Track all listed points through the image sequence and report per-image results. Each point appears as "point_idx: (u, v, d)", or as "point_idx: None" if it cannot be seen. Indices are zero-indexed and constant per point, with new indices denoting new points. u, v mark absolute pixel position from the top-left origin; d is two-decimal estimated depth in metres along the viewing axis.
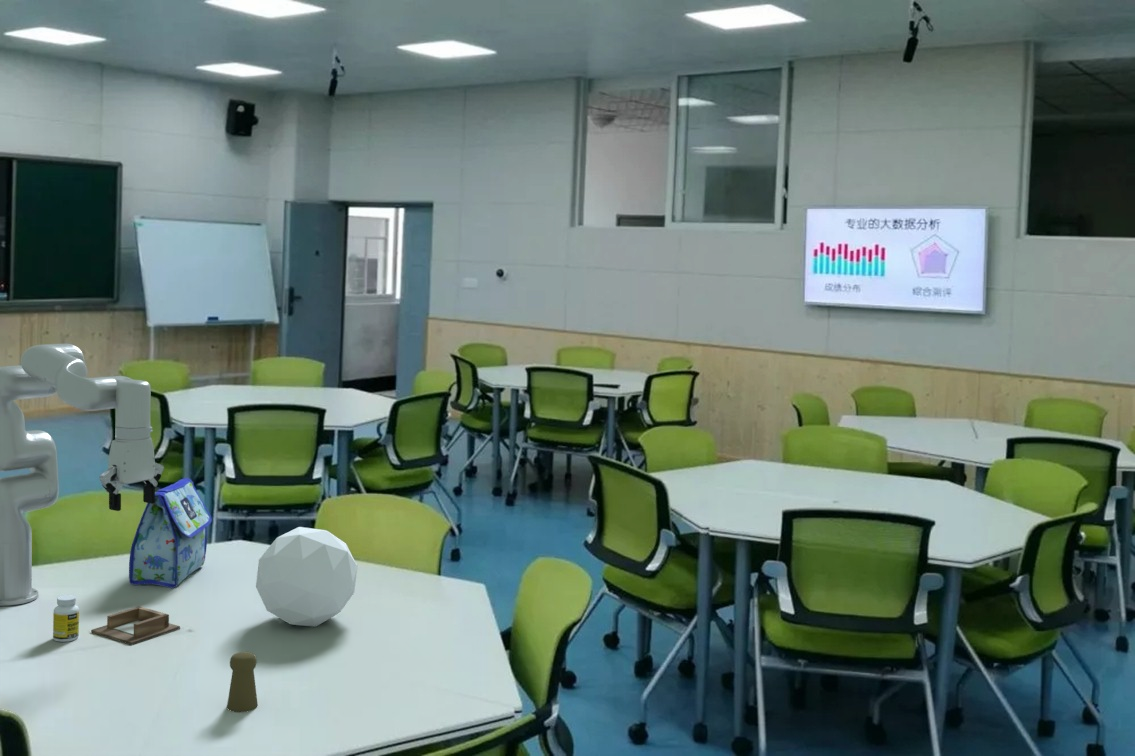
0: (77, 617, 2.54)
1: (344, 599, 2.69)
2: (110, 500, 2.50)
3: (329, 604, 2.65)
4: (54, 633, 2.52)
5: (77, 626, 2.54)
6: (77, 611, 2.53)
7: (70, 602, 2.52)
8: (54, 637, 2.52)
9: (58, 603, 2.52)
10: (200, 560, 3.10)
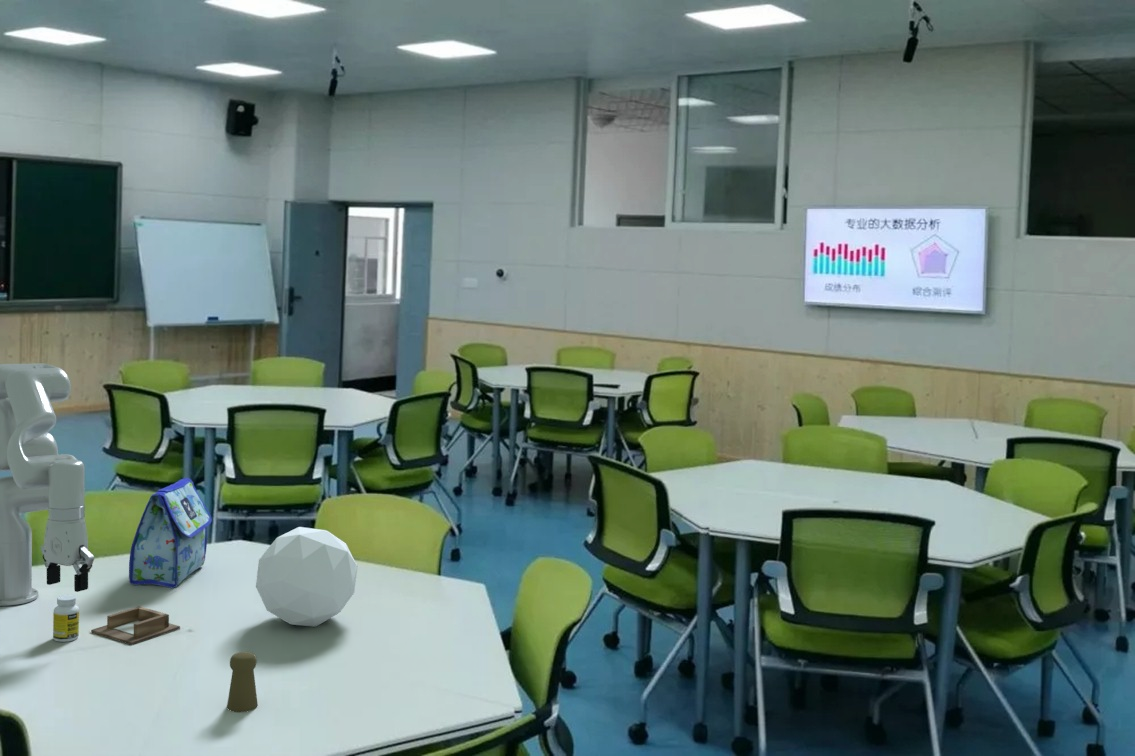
0: (77, 617, 2.54)
1: (344, 599, 2.69)
2: (82, 581, 2.49)
3: (329, 604, 2.65)
4: (54, 633, 2.52)
5: (77, 626, 2.54)
6: (77, 611, 2.53)
7: (70, 602, 2.52)
8: (54, 637, 2.52)
9: (58, 603, 2.52)
10: (200, 560, 3.10)
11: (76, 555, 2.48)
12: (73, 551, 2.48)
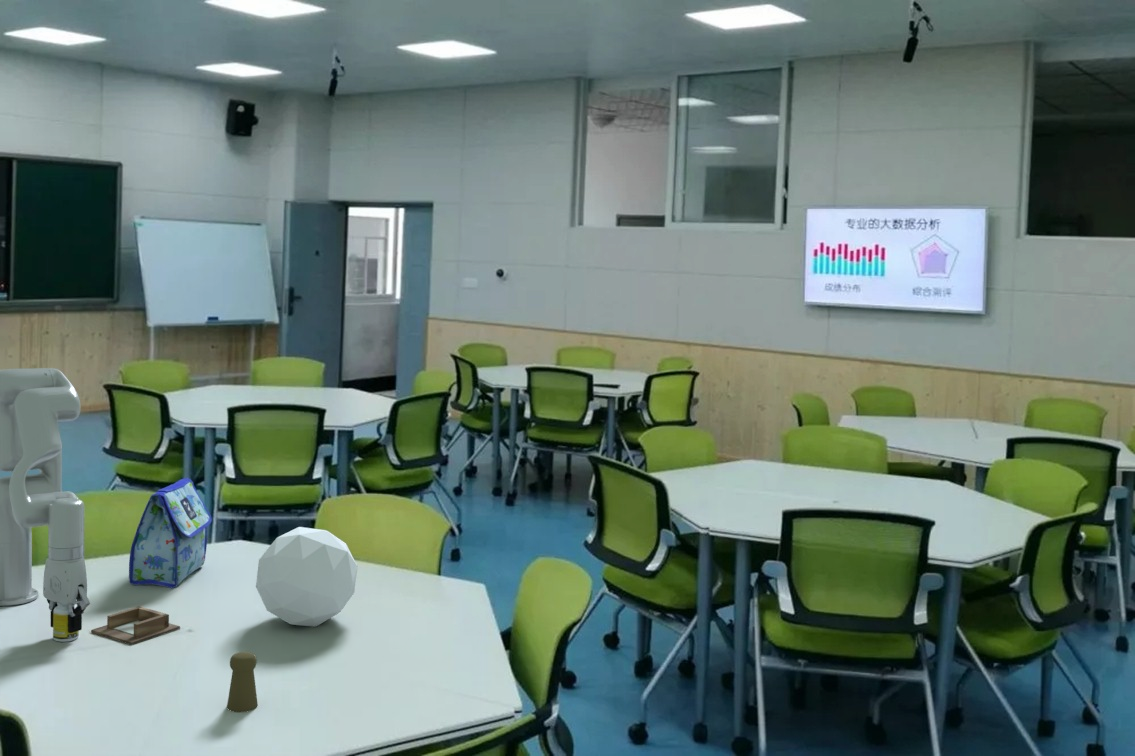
0: None
1: (344, 599, 2.69)
2: (76, 622, 2.52)
3: (329, 604, 2.65)
4: (54, 633, 2.52)
5: None
6: None
7: None
8: (54, 637, 2.52)
9: (58, 603, 2.52)
10: (200, 560, 3.10)
11: (75, 594, 2.49)
12: (72, 590, 2.49)
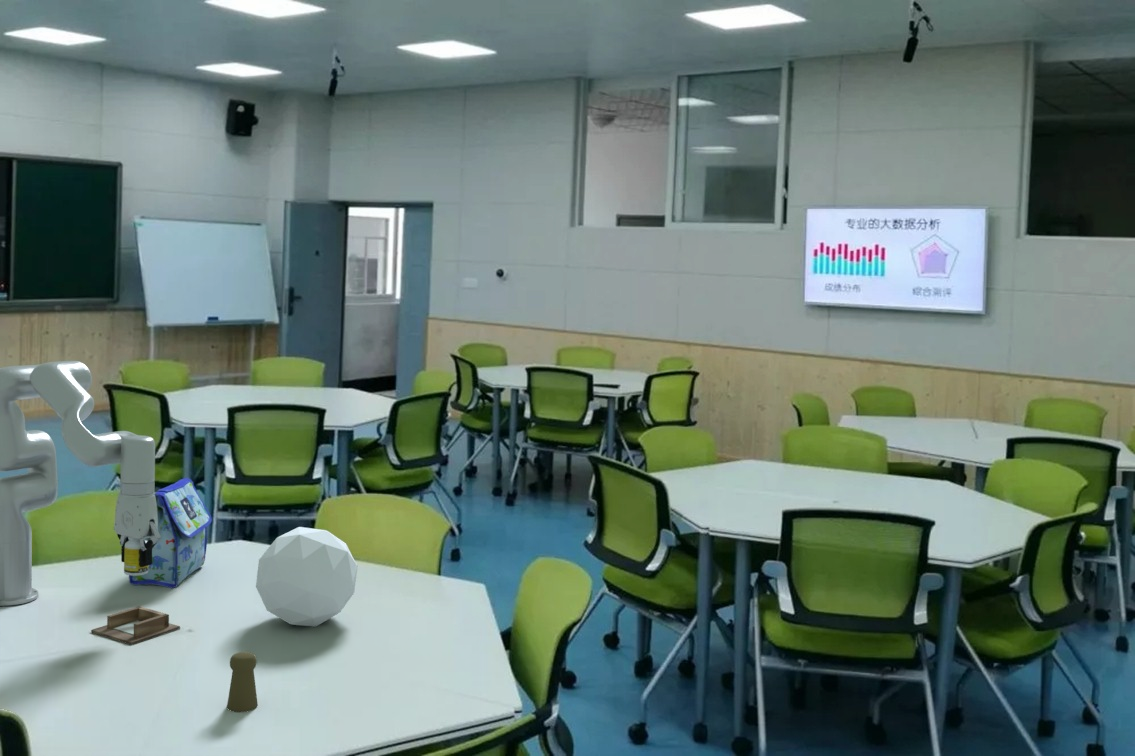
0: None
1: (344, 599, 2.69)
2: (147, 557, 2.58)
3: (329, 604, 2.65)
4: (125, 567, 2.58)
5: None
6: None
7: None
8: (125, 571, 2.58)
9: (129, 538, 2.58)
10: (200, 560, 3.10)
11: (147, 529, 2.55)
12: (144, 525, 2.55)
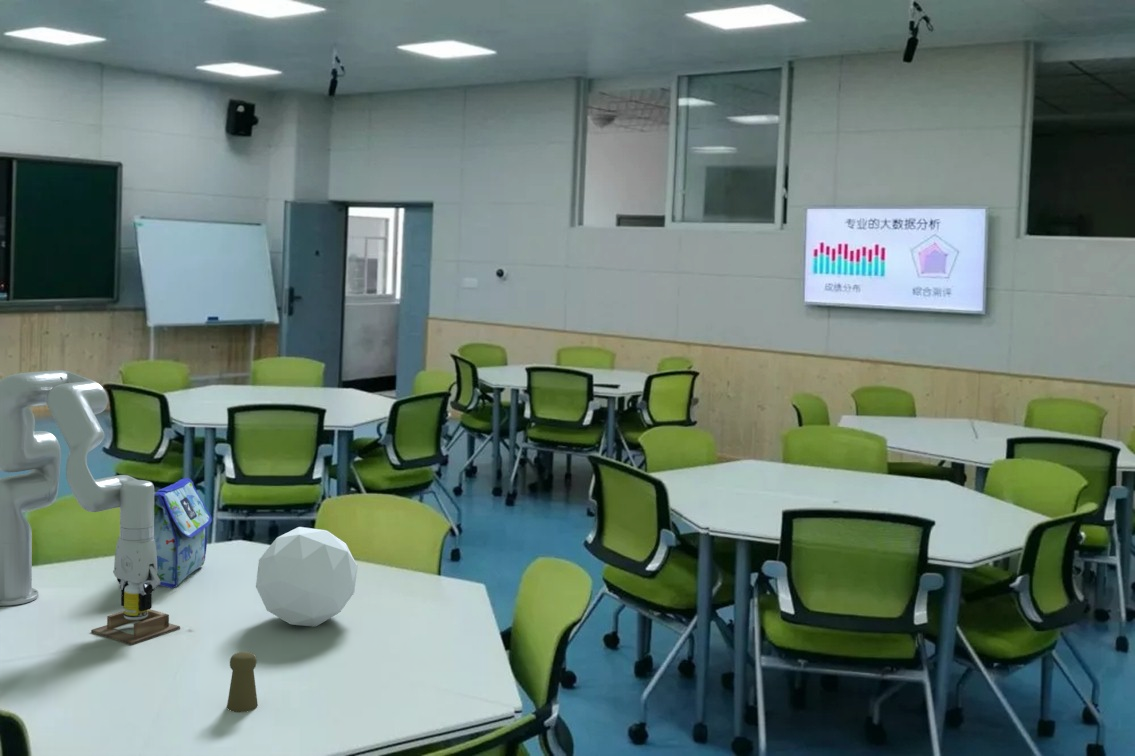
0: None
1: (344, 599, 2.69)
2: (147, 601, 2.59)
3: (329, 604, 2.65)
4: (125, 611, 2.59)
5: None
6: None
7: None
8: (125, 615, 2.59)
9: (129, 582, 2.59)
10: (200, 560, 3.10)
11: (146, 573, 2.57)
12: (144, 570, 2.56)
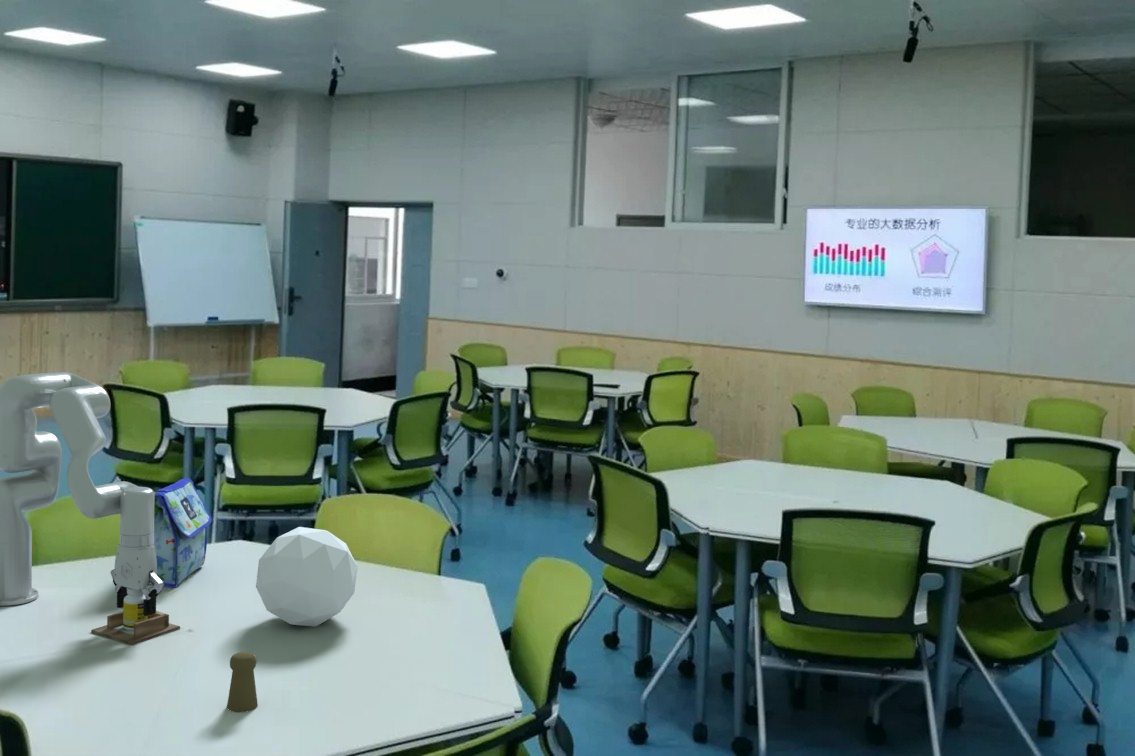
0: None
1: (344, 599, 2.69)
2: (151, 605, 2.58)
3: (329, 604, 2.65)
4: (124, 622, 2.60)
5: None
6: None
7: (140, 591, 2.60)
8: (124, 626, 2.60)
9: (128, 593, 2.59)
10: (200, 560, 3.10)
11: (146, 580, 2.57)
12: (144, 576, 2.56)
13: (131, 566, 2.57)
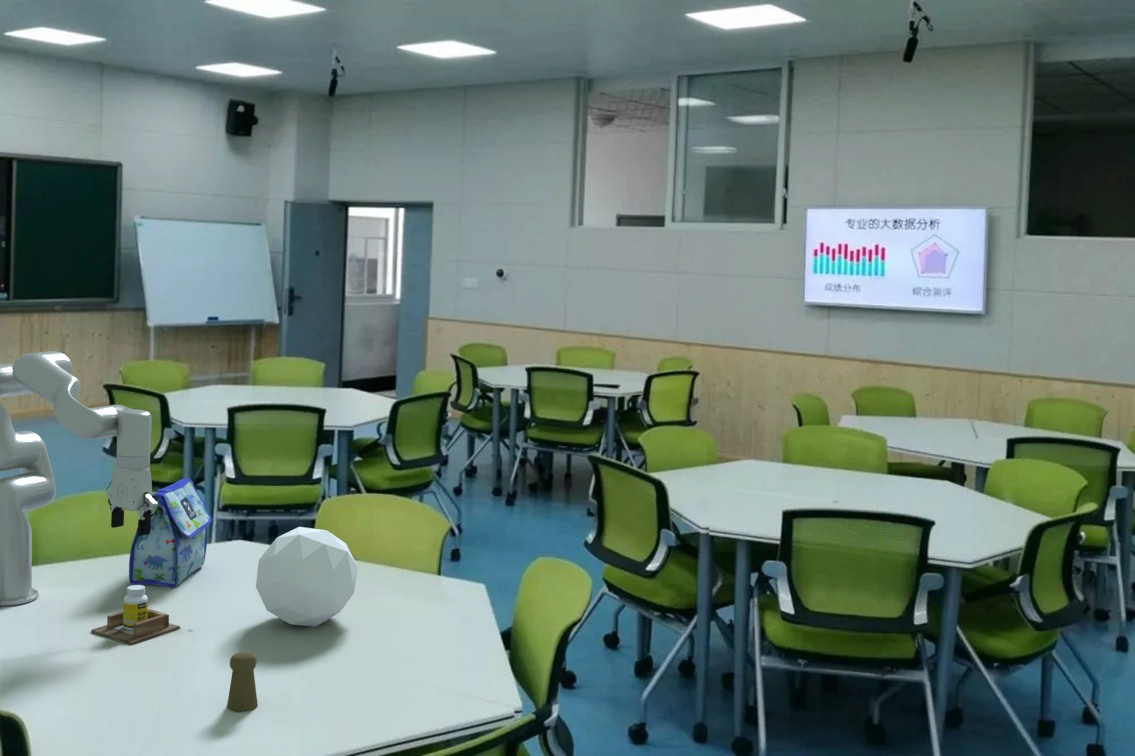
0: (146, 606, 2.61)
1: (344, 599, 2.69)
2: (146, 526, 2.62)
3: (329, 604, 2.65)
4: (124, 622, 2.60)
5: (146, 615, 2.61)
6: (146, 600, 2.61)
7: (140, 591, 2.60)
8: (124, 626, 2.60)
9: (128, 593, 2.59)
10: (200, 560, 3.10)
11: (141, 501, 2.61)
12: (138, 497, 2.60)
13: (126, 487, 2.61)
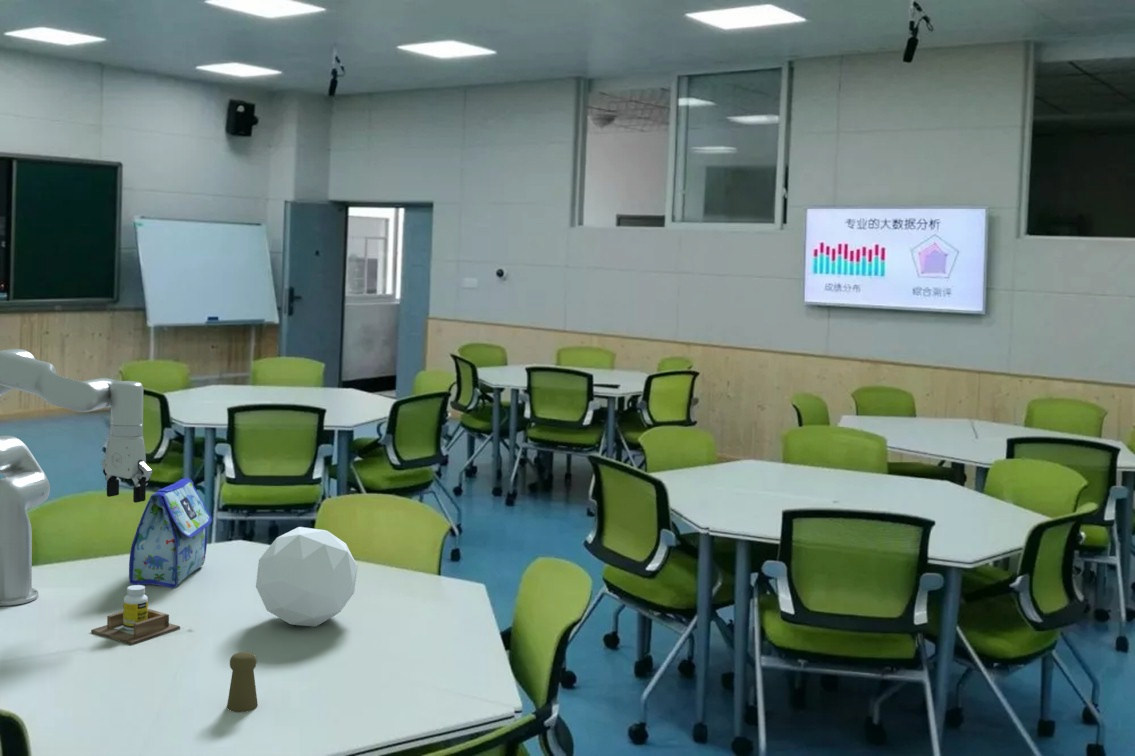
0: (146, 606, 2.61)
1: (344, 599, 2.69)
2: (141, 493, 2.71)
3: (329, 604, 2.65)
4: (124, 622, 2.60)
5: (146, 615, 2.61)
6: (146, 600, 2.61)
7: (140, 591, 2.60)
8: (124, 626, 2.60)
9: (128, 593, 2.59)
10: (200, 560, 3.10)
11: (135, 469, 2.69)
12: (133, 465, 2.69)
13: (121, 455, 2.69)
